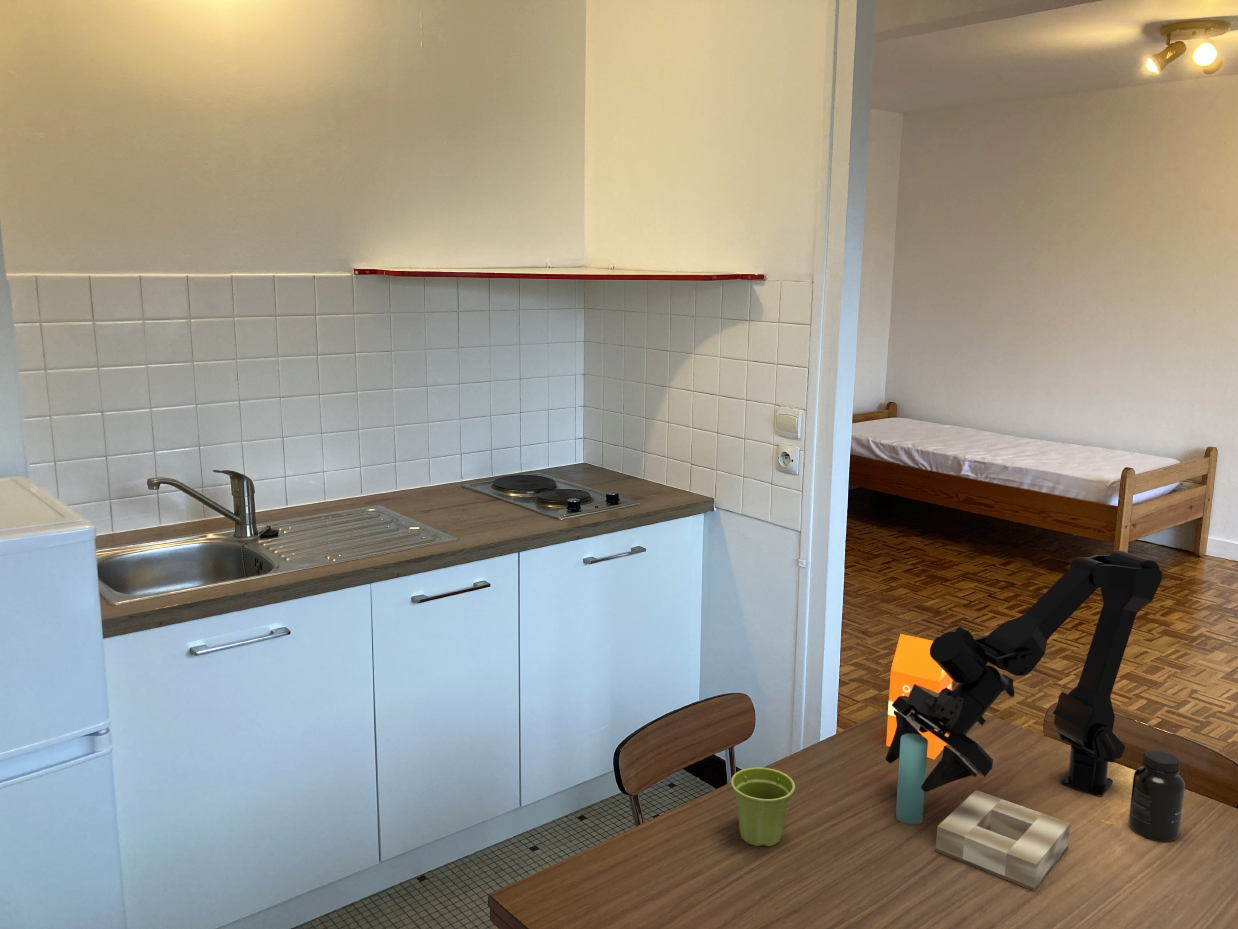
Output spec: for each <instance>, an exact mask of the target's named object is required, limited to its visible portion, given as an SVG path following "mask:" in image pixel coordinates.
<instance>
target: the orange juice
mask: <svg viewBox="0 0 1238 929" xmlns="http://www.w3.org/2000/svg"><path fill="white" fill-rule="evenodd" d="M933 641H934V640H931V639H930V640H929V639H926V638H923V637H922V638H921V637H917V636H912V635H907V634H902V633H900V634H899V638H898V642H897V645H896V650H895V653H894V657H893V661H892V663H891V664H892V665H891V668H890V679H889V692H888V693H889V697H888V705H887V706H888V707H887V708H888V710H887V727H886V728H887V729H886V744H885V746H886V747H889V748H890V745H891V743H892V740H893V737H894V734H895V731H896V727H897V722H896V716H895V715H894V710H895V711H897V710H896V709H895V708H894V707H893V706H892V704H893V702H894V701H895V700H896V699H897V698H898V697H899V696H904V695H906V696H907V697H908V696H909V694H910V692H911V689H912V687H913V685H914V684H917V685H919V686H922V687H924V688H927V689H930V690H932V691H934V692H936V693H940V692H941V690H942V689H944V688H946V687H947V688H948V689H950V690H952V689H953V680H952V679H951V678H950V677H949V676H948V675H947V674H946V673H945V672H944V671H943V669H942V668H941V667H940V666H939V665H938V664H937V663H936V662H935V661H934V660H933V659H932V658H931V656H930V647H931V645H932V643H933ZM897 712H898V711H897ZM935 730H936V729H935ZM936 731H937V730H936ZM918 732H919V733H920V734H921V735H922V736H923V737H925V738H926V739H927V740H928V749H927V759H928V758H929V759H932V760H936V758H937V757H938V756H939V754H941V752H943V749H944V745H945V746H946V747H947V744H946V743H945V742H943V741H942V740H940V739H939V738H937V737H936V736H935V735H933V734H932V733H930V732H929V731H928V732H925V733H921V732H920V731H919V730H918ZM945 736H947V737H948V736H949V735H948V734H945Z"/></svg>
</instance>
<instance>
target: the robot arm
mask: <svg viewBox="0 0 1238 929" xmlns="http://www.w3.org/2000/svg"><path fill="white" fill-rule="evenodd" d="M1162 578H1163V571H1162V570H1161V568H1160V565H1158V563H1157V562H1156V561H1154V560H1152V559H1150V558H1149V559H1148V558H1147V557H1143V556H1139V555H1137V554H1133V553H1131V552H1127V551H1124V550H1115V551H1114V552H1112V553H1110V554H1094V555H1092V556H1089V557H1088V556H1087V557H1085V556H1081V557H1080V556H1079V557H1076V558H1075V559H1073V560H1072V562H1071V563H1070V565H1069V568H1068V570H1066V572H1065V573H1064V574H1063V575H1062V576H1061V577H1060V578H1059V579H1057V581H1056V582H1055V583H1053V585H1052V586H1051V587H1050V588H1049V589H1048V590H1047V591H1046V592H1045V593H1044V594H1042V596H1041V597H1040V598H1039V599H1038V600H1037V601H1036V602H1035V603H1033V605H1032V606H1031V607H1029V609H1028V610H1027V611H1026V612H1024V613H1023V614H1022V615H1020V616H1019V617H1017V618H1014V619H1013V618H1012V619H1010V620H1007V621H1004V622H1003V623H1001V624H1000V625H999V626H998V627H996V628H995V629H994V630H992V631H991V632H990V633H988V635H984V636H981V637H977V638H974V636H973V635H972V632H970V631H969V630H968V629H966V628H965V627H962V626H958V627H957V628H956V630H954V631H948V632H945V633H943V634H941V635H940V636H937V637H936V638H934V640H932V641H933V643H932V645H931V647H930V656H931V658H932V659H933V660H934V661H935V662H936V663H937V664H938V665H939V666H940V667H941V668H942V669H943V671H944V672H945V673H946V674H947V675H948V676H949V677H950V678H951V679H952V682H955V683H956V684H955V685H954V687H952V690H950V689H948V688H947V687H946V688H944V689H942V690H941V692H940V693H936V692H934V691H932V690H930V689H927V688H924V687H922V686H919V685H917V684H914V685H913V687H912V689H911V692H910V694H909V696H908V697H907V696H906V695H904V696H899V697H898V698H897V699H896V700H895V701H894V702H893V704H892V706H893V707H894V708H895V709H896V710H897V711H898V712H897V711H895V710H894V715H895V716H896V722H897V727H896V731H895V734H894V737H893V740H892V743H891V745H890V747H889V748H888V751H887V753H886V756H885V761H886V762H887V763H888V764H892V763H894V762H895V761H897V760H899V757H900V742H901V736H902V735H904V734H918V735H921V734H920V733H919V732H918V730H919V731H920V732H921V733H925V732H928V731H929V732H930V733H932V734H933V735H935V736H936V737H937V738H939V739H940V740H942V741H943V742H945V743H946V744H947V745H948V746H949V747H950V748H951V749H950V748H949V747H948V746H947V745H946V746H945V745H944V749H943V750H942V756H941V759H940V761H939V762H938V763H937V764H936V765H935V767H934V768H933V769H932V770H931V772H930V773H929V774H928V775H927V777H926V778H925V781H924V783H923V784H922V786H921V789H922V790H923V791H924V792H925V793H927V792H929V791H932V790H935V789H937V788H938V789H939V788H940V787H942V786H945V785H947V784H949V783H952V782H955V781H960V780H961V779H965V778H969V777H973V778H976V777H978V774H979V775H980V776H982V777H983V778H985V777H986V776H987V775H988V774H989V773H990V772H991V770H992V769H993V762H994V759H993V758H992V757H991V756H990V755H989V754H988V753H987V751H986V750H985V749H983V748H982V747H981V745H980V744H979V743H977V742H976V741H975V740H973V739H972V738H970V737H969V736H967V734H968V733H969V732H970V731H971V730H972V729H973V727H975V725H976V724H978V725H980V726H984V724H985V723H986V722H987V720H986V719H985V718H984V717H983V716H984V715H985V714H986V712H987V711H988V710H989V708H990V707H991V706H992V705H993V704H994V703H995V702H996V701H997V699H998V698H999V697H1000V696H1001V695H1002V694H1003V693H1004V694H1005V695H1007V696H1008V697H1010V698H1014V697H1015V689H1014V681H1015V680H1014V679H1013V678H1012V677H1010V676H1008V675H1007V674H1002V673H1001V672H1000V671H999V670H1002V671H1005V672H1007V673H1009V674H1010V675H1012V676H1016V677H1018V676H1020V677H1021V676H1022V677H1025V676H1027V675H1028V674H1030V673H1031V672H1033V670H1034V669H1035V668H1036V666H1037V665H1038V663H1040V661H1041V660H1042V658H1043V657H1044V655H1045V654H1046V651H1047V650H1046V649H1047V644H1048V640H1049V639H1050V638H1051V637H1052V635H1053V634H1054V633H1055V632H1056V631H1058V630H1059V628H1061V626H1062V625H1063V624H1064V623H1065V622H1066V621H1067V620H1068V619H1069V618H1070V617H1071V616H1072V615H1073V614H1074V613H1075V612H1076V611H1077V610H1078V609H1079V608H1080V607H1081V606H1082V605H1083V604H1084V603H1085V602H1086V601H1087V600H1088V599H1089V598H1090V597H1091V596H1092V595H1093V594H1094V593H1095V592H1096V591H1097V590H1098V589H1100V593H1101V598H1102V601H1103V604H1102V607H1101V610H1100V613H1099V616H1098V619H1097V623H1096V627H1095V629H1094V632H1093V635H1092V637H1091V638H1092V639H1091V642H1090V645H1089V647H1088V648H1089V649H1088V652H1087V654H1086V658H1085V661H1084V664H1083V668H1082V671H1081V673H1080V678H1079V681H1078V683H1077V685H1076V686H1075V687H1074V688H1073V689H1071V690H1070V691H1069V692H1068V693H1067V692H1064V691H1061V692H1060V694H1059V695H1058V698H1057V699H1058V700H1057V704H1056V707H1055V709H1054V710H1053V712H1052V715H1054V719H1053V725H1055V727H1056V729H1057V731H1058V735H1059V739H1060V740H1061V741H1062V742H1066V743H1067V744H1069V745H1070V751H1069V752H1070V753H1069V763H1068V771H1067V772H1066V773H1065V775H1063V777H1062V778H1061V779H1060V784H1062V785H1064V786H1067V787H1070V788H1071V787H1072V788H1074V789H1076V790H1080V791H1083V792H1087V793H1088V794H1089V793H1090V794H1092V795H1096V796H1099V797H1103V795H1104V794H1105V793H1106V792H1107V791H1108V790H1109V788H1110V787H1111V786H1112V784H1113V782H1114V780H1113V779H1112V778H1109V777H1108V769H1109V763H1115V761H1116V760H1118V759H1121V758H1122V756H1123V753H1124V751H1125V749H1126V745H1125V744H1124V743H1123V742H1122V741H1121V740H1120V739H1119V737H1118V736H1117V735H1116V734H1115V733H1114V732H1113V729H1114V724H1115V716H1116V715H1115V713H1114V712H1115V711H1114V708H1113V703H1112V700H1111V697H1112V696H1111V695H1112V692H1113V689H1114V687H1115V683H1116V680H1117V676H1118V674H1119V671H1120V667H1121V664H1122V660H1123V658H1124V655H1125V652H1126V649H1127V645H1128V641H1129V639H1130V636H1131V633H1132V629H1133V627H1134V624H1135V620H1136V617H1137V615H1138V613H1139V612H1140V611H1141V610H1142V609H1144V608H1145V607H1147V605H1149V604H1150V603H1151V602H1152V601H1153V600H1154V597H1155V596H1156V593H1157V592H1158V589H1159V588H1160V585H1161V582H1162ZM988 663H989V664H991V665H987V664H988ZM996 667H997V668H998V669H999V670H998V669H997V668H996ZM935 729H936V730H937V731H936V730H935ZM945 734H948V737H947V736H945ZM921 736H922V735H921ZM952 749H953V750H952ZM977 773H978V774H977Z"/></svg>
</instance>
